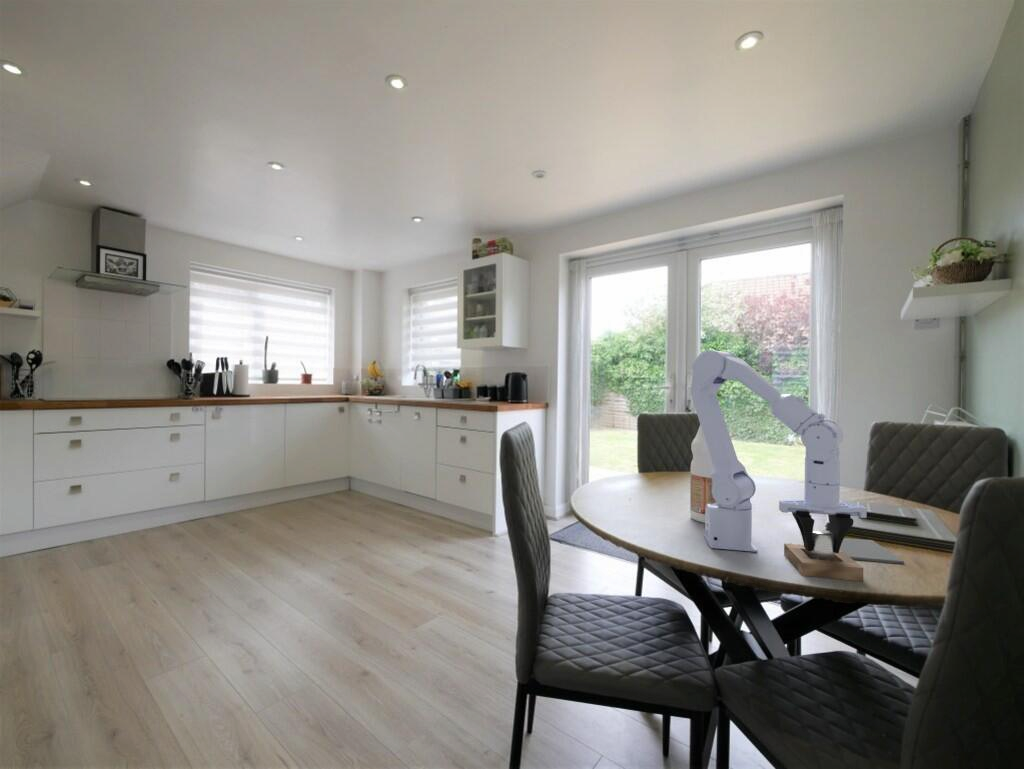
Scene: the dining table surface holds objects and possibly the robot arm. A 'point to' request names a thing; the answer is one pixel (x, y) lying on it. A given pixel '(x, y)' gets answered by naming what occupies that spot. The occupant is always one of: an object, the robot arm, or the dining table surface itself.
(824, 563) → the holder
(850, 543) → the mat
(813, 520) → the robot arm
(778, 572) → the dining table surface
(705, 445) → the fruit juice
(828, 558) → the plug
